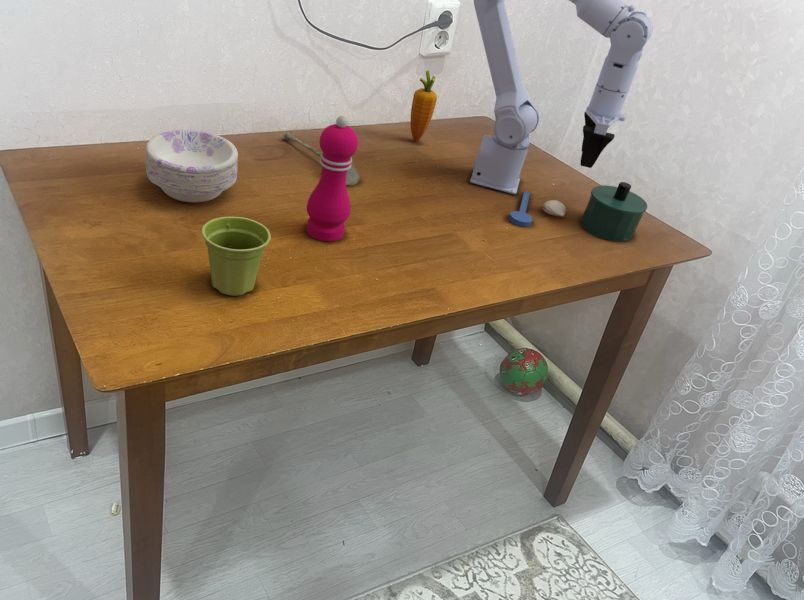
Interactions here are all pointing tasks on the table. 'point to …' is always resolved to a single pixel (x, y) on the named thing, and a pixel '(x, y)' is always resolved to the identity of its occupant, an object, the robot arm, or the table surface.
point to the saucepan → (609, 222)
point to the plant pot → (234, 252)
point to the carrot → (422, 107)
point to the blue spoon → (521, 213)
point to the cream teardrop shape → (554, 208)
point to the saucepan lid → (619, 198)
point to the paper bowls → (191, 164)
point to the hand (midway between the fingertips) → (586, 159)
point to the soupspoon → (352, 173)
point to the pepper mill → (332, 183)
